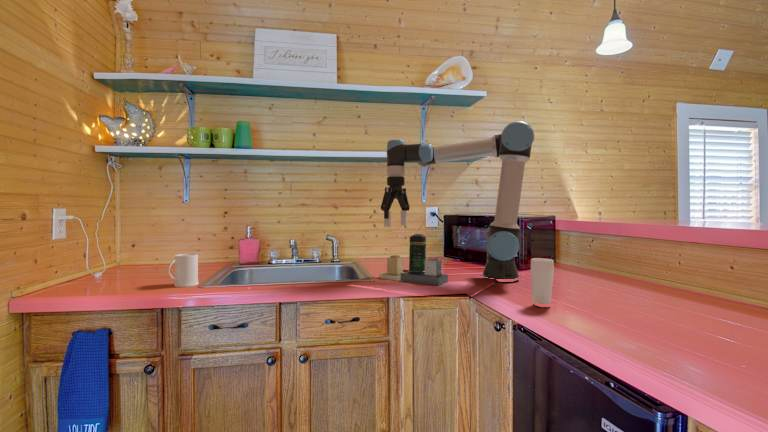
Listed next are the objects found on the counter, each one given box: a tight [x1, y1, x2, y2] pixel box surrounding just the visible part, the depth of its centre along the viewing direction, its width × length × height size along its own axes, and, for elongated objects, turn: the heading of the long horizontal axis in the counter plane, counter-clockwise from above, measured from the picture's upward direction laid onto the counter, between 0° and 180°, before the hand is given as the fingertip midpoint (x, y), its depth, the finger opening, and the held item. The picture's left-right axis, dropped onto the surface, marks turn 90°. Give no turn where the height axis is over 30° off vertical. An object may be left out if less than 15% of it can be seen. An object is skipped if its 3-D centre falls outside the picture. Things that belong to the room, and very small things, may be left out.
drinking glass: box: [530, 257, 555, 304], centre depth 117 cm, size 7×7×15 cm
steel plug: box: [425, 257, 443, 277], centre depth 149 cm, size 5×5×10 cm
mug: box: [167, 253, 200, 288], centre depth 144 cm, size 12×8×12 cm
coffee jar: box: [408, 233, 427, 272], centre depth 177 cm, size 10×8×19 cm
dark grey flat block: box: [400, 270, 449, 287], centre depth 151 cm, size 17×9×4 cm, turn 57°
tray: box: [378, 271, 405, 281], centre depth 160 cm, size 9×11×2 cm
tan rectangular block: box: [386, 254, 404, 276], centre depth 160 cm, size 5×5×10 cm
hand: (395, 226), depth 159 cm, fingers open, 13 cm apart
